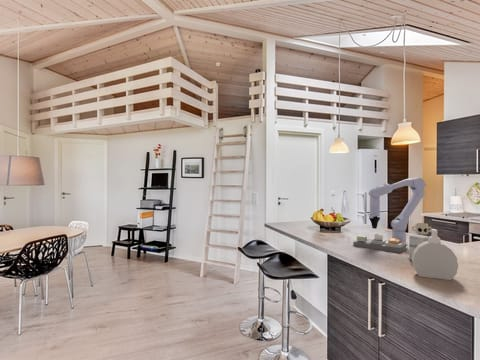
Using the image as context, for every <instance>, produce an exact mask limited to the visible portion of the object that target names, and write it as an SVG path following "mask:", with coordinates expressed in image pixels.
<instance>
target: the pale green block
mask: <svg viewBox="0 0 480 360" xmlns="http://www.w3.org/2000/svg"><path fill="white" fill-rule="evenodd" d="M367 239H368V236H367V235H366V236H365V235H361V234H360V235H359V234H358V235H357V236H356V240H357V241H364V242H366V241H367Z"/></svg>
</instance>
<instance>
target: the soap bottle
mask: <svg viewBox="0 0 480 360" xmlns="http://www.w3.org/2000/svg"><path fill="white" fill-rule="evenodd" d="M411 261H412V267H413V268H414V270H415V272H416V274H417V275H418V277H421V278H430V279H437V280H445V281H452V280H453V279H454V278H455V276H456V275H457V273H458V269H459V263H458V258H457V256H456V254H455V252H454V250H452V249H451V248H450V247H449V246H447V245H446V244H445V243H443V242H441V238H440V237H439V236H438V229H435V228H432V231H431V235H430V236H429V238H428V241H425V242H423V243H421V244H419V245H418V246H417V247H416V248H415V250H414V251H413V255H412V260H411Z"/></svg>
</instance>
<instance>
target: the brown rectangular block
mask: <svg viewBox="0 0 480 360" xmlns="http://www.w3.org/2000/svg"><path fill="white" fill-rule="evenodd" d="M387 242H388V243H392V244H400V243H401V242H402V239H398V238H392V237H391V238H390V239H388V240H387Z"/></svg>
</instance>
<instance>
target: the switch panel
mask: <svg viewBox="0 0 480 360" xmlns="http://www.w3.org/2000/svg"><path fill="white" fill-rule="evenodd" d="M352 243H353V244H352V245H353V246H354V247H359V248H367V249H373V250H379V251H387V252H392V253H397V252H398V254H399V253H401V252H403V251H404V250H406V249H407V245H406V244H405V241H402V242H401V243H400V244H392V243H388V241H387V240H386V239H383V240H375V238H372V239H369V238H367V241H366V242H364V241H357V239H356V240H353V242H352Z"/></svg>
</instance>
